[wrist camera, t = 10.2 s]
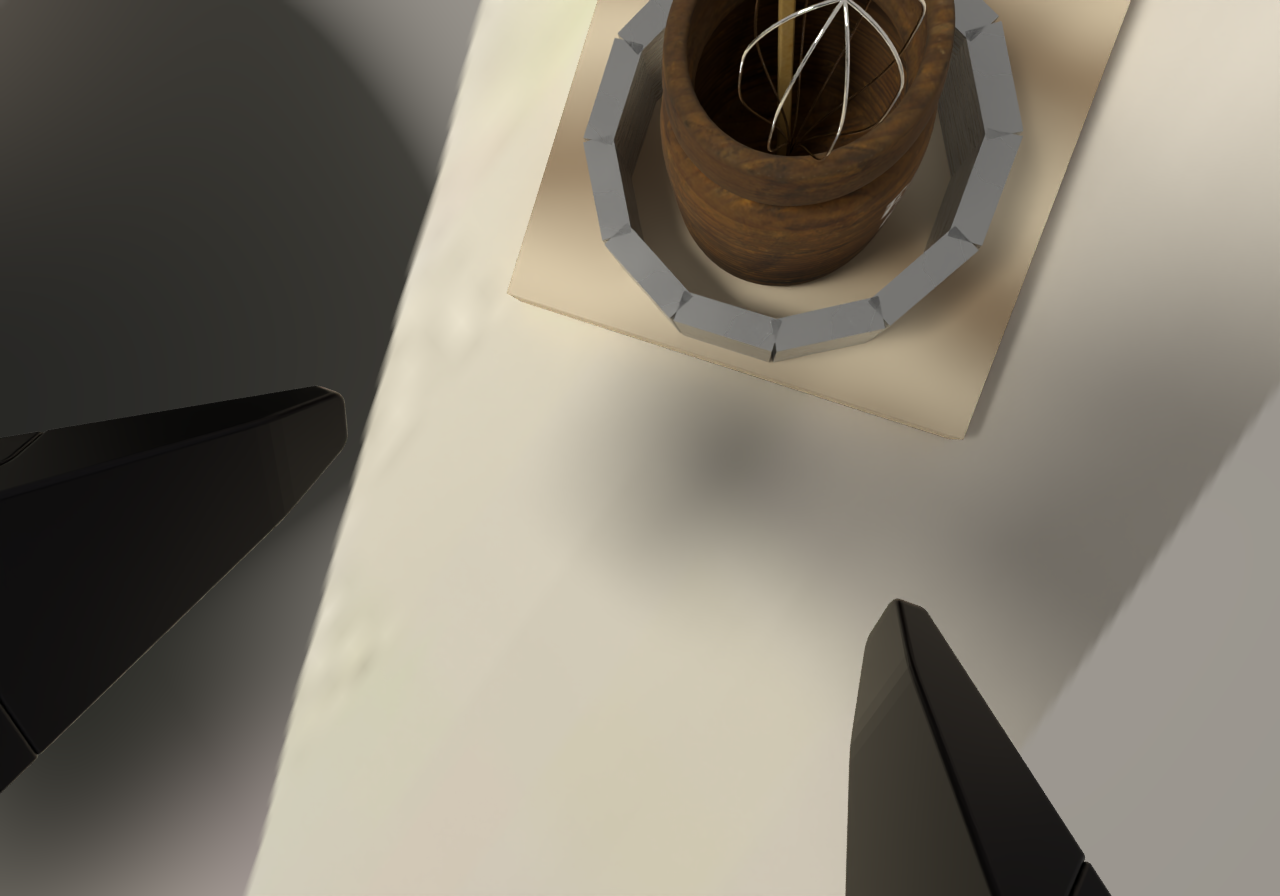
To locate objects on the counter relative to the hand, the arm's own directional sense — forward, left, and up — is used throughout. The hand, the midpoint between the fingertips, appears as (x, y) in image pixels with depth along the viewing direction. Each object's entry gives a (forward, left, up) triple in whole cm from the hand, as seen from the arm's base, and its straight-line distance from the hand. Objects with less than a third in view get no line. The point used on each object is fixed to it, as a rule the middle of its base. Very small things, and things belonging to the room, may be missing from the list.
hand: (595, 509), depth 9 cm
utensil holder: (+9, 0, -9) cm, 13 cm away
